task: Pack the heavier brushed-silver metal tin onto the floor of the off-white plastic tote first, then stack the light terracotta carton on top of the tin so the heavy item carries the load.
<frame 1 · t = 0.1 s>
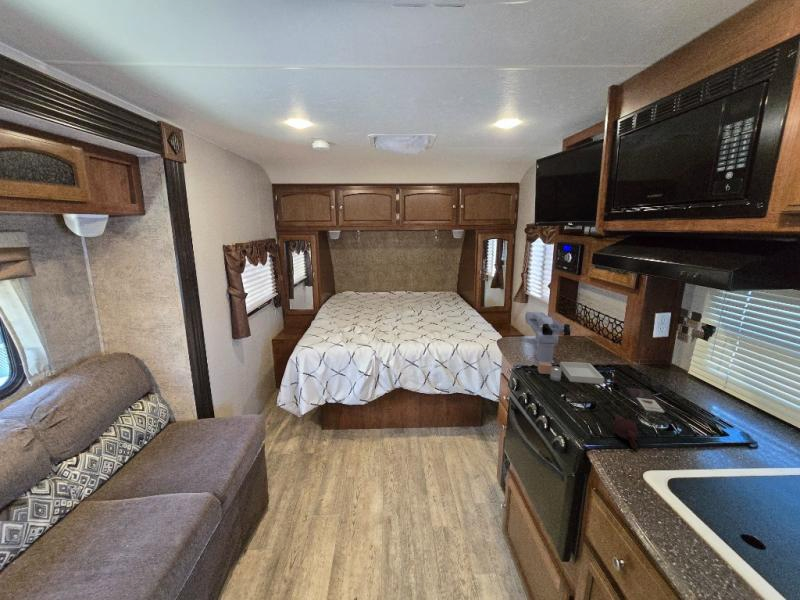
hand: (560, 333, 149), 22 cm above the countertop, tool horizontal, fingers open, 7 cm apart
carton: (544, 372, 159), on the countertop
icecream: (623, 437, 110), on the countertop
chocolate bar: (644, 401, 133), on the countertop
tin: (555, 379, 151), on the countertop
tote: (580, 375, 155), on the countertop
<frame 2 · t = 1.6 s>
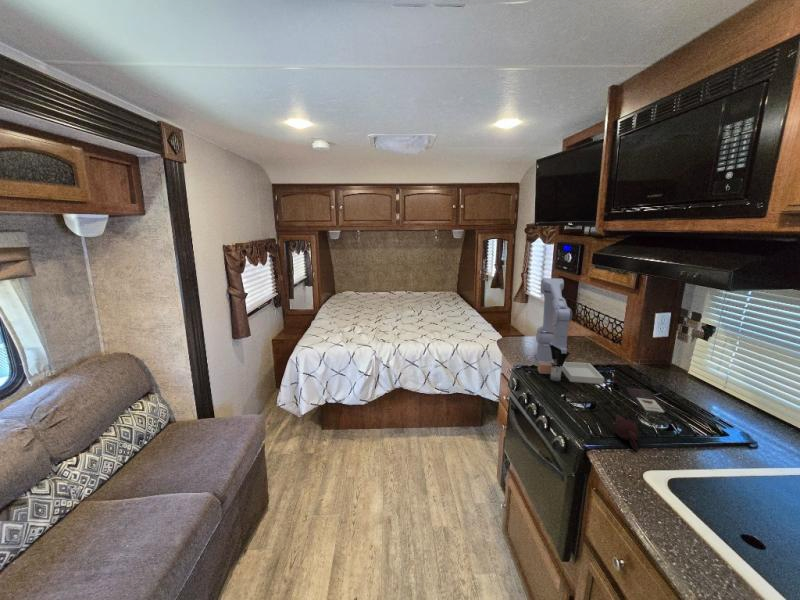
hand: (557, 362, 150), 8 cm above the countertop, tool pointing down, fingers open, 7 cm apart
nothing on the countertop moved.
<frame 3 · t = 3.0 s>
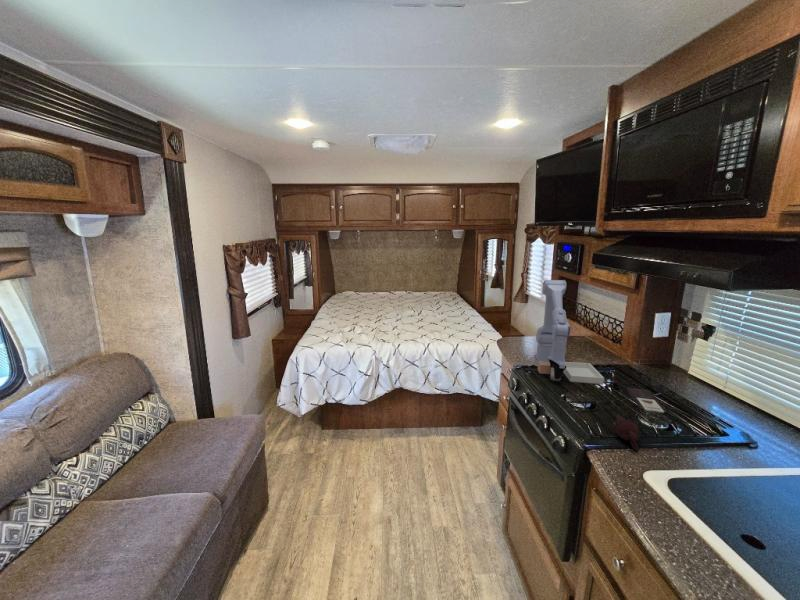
hand: (555, 376, 151), 1 cm above the countertop, tool pointing down, fingers closed on tin, 4 cm apart
tin: (555, 378, 151), on the countertop, touching gripper
everything else where it was.
when the fingers open (3 cm above the countertop, at t = 8.0 s): tin stays where it is, resting on tote.
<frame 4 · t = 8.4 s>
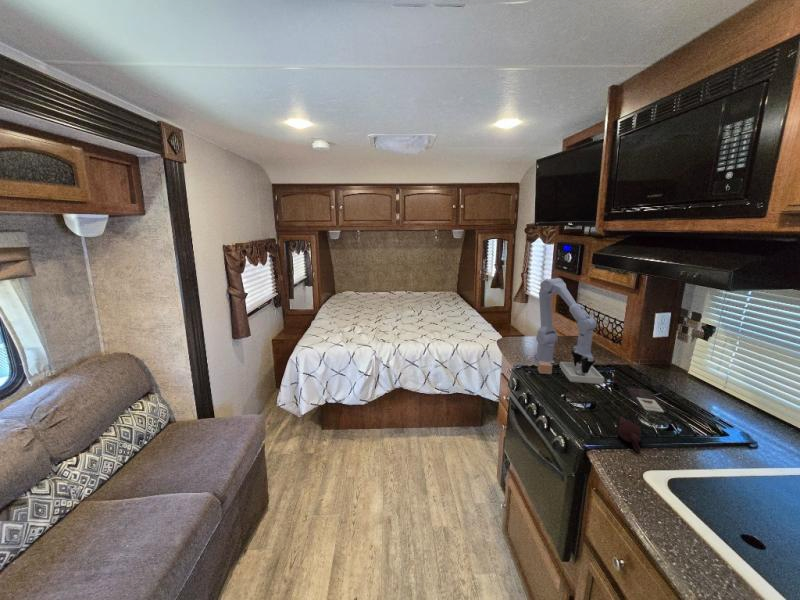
hand: (580, 369, 155), 3 cm above the countertop, tool pointing down, fingers open, 7 cm apart
tin: (580, 373, 155), point 1 cm above the countertop, touching tote
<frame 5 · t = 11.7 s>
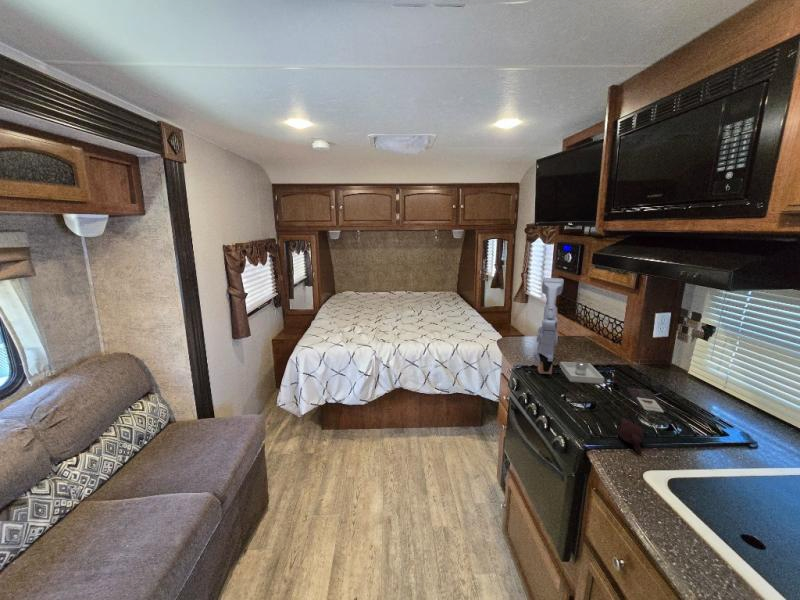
hand: (544, 369, 158), 1 cm above the countertop, tool pointing down, fingers closed on carton, 4 cm apart
carton: (544, 372, 159), on the countertop, touching gripper
when the fingers open (8 cm above the countertop, at t = 16.4 s): carton stays where it is, resting on tin.
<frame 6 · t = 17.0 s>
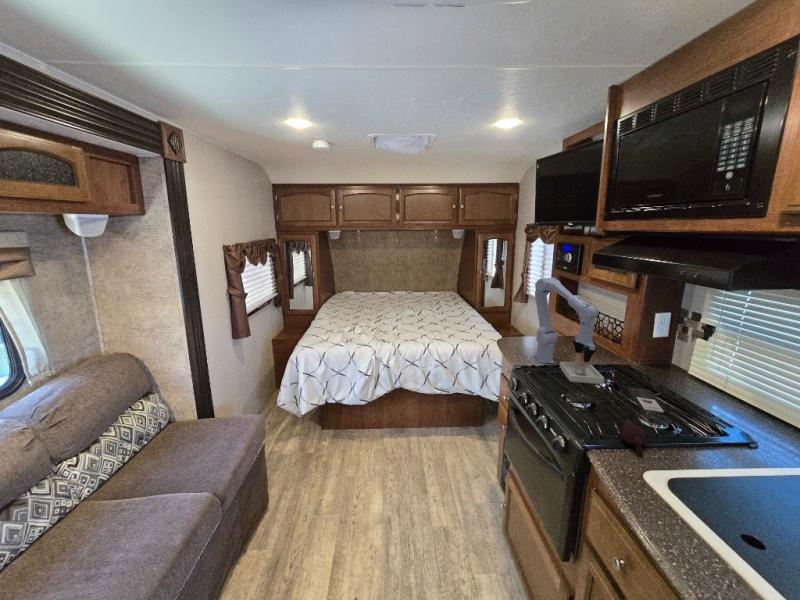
hand: (582, 358, 153), 9 cm above the countertop, tool pointing down, fingers open, 7 cm apart
carton: (582, 363, 154), point 6 cm above the countertop, touching tin
tin: (580, 373, 155), point 1 cm above the countertop, touching carton, tote
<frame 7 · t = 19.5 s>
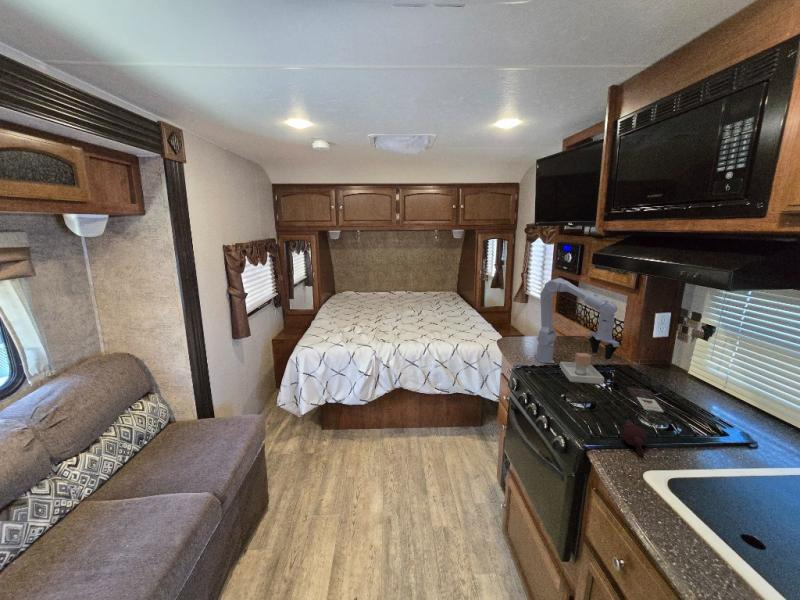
hand: (601, 355, 152), 10 cm above the countertop, tool pointing down, fingers open, 7 cm apart
at the end: tin inside the target area on the tote (0.1 cm from its centre), point 0.6 cm above the tote's base; carton 0.3 cm off-centre on the tin, point 5.5 cm above the tin's base; carton tilted 0° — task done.
